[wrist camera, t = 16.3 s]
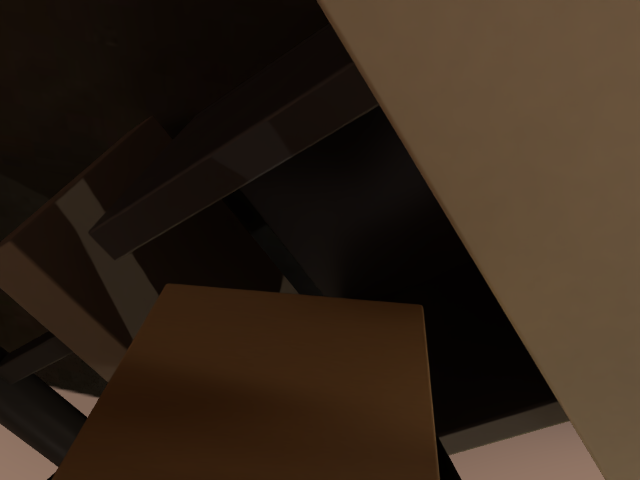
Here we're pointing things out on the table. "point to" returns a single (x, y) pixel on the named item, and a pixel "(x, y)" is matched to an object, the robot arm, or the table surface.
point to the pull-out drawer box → (249, 258)
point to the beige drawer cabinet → (530, 175)
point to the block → (264, 392)
